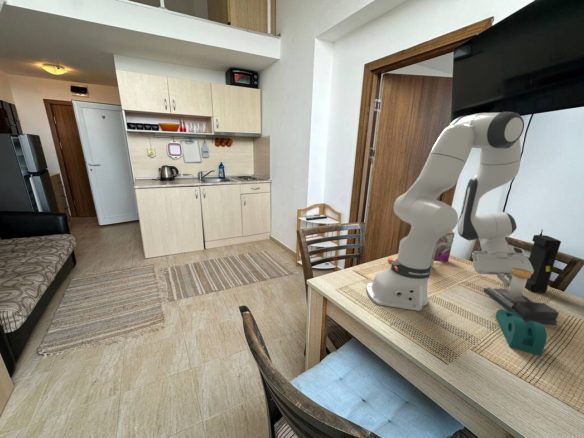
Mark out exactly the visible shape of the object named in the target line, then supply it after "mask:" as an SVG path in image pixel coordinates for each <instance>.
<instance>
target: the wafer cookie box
mask: <svg viewBox="0 0 584 438" xmlns="http://www.w3.org/2000/svg"><path fill="white" fill-rule="evenodd" d="M454 238H455V231H453V230H452V231H451V232H450V233H448V234H445V235H443V236H442V237H441V238H440V239H439V240H438V243H437V248H436V252H435V257H434V261H435V262H441V263H448V262H449V259H450V254H451V249H452V246H453V242H454Z"/></svg>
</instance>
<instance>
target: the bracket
mask: <svg viewBox="0 0 584 438" xmlns="http://www.w3.org/2000/svg"><path fill="white" fill-rule="evenodd" d="M494 317H495V319H496V322H497V323H498V326H499V328H500V330H501V332H502V335H503V336H504V338H505V340H506V343H507V344H508V347H509V348H510V349H515V350H518V351H520V352H521V351H522V352H525V353H529V354H531V353H532V355H536V356H538V355H539V357H541V356H542V354H543V352H544V348H545V346H546V343H547V340H548V339H547V338H548V337H547V336H548V335H547V330H546V327H545V324H541V323H537V322H533V321H528V322H527V323H525V321H524V320H523V318H522V317H521V316H519V315H518V314H516V313H514V312H511V311H508V310H507V309H504V308H503V309H501V308H500V309H497V311H496V313H495V316H494Z"/></svg>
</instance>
